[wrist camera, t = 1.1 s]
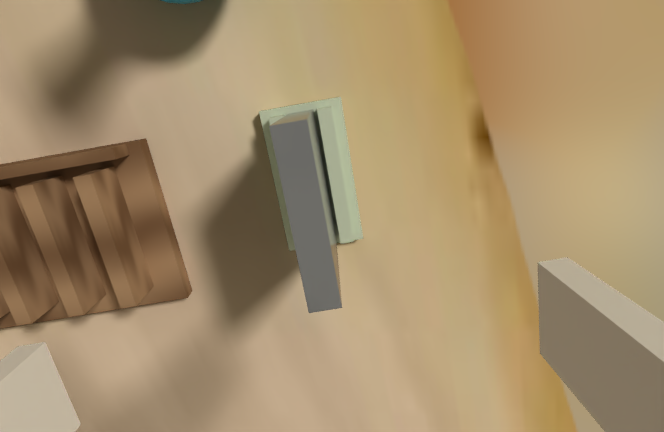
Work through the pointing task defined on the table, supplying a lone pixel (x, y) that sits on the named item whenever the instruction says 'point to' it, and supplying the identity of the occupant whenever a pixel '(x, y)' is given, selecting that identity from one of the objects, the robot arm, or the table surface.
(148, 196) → the rack
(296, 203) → the thick grey slab
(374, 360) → the table surface
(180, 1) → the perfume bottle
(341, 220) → the stand
